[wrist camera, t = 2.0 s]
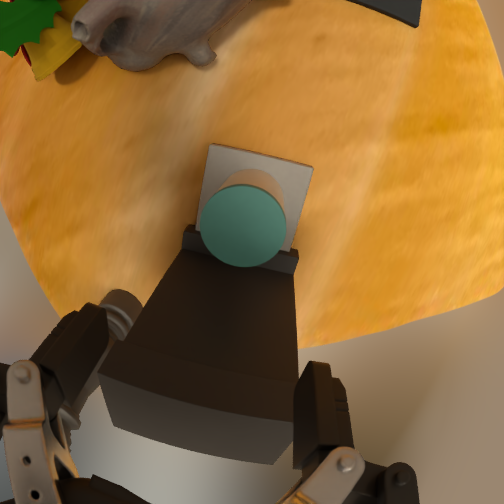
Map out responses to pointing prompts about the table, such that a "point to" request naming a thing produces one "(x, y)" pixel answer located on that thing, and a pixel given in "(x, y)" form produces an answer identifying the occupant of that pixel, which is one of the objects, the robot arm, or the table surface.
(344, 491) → the robot arm
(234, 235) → the container
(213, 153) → the coffee maker
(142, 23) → the piggy bank
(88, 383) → the candle holder
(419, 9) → the mat
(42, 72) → the ornament
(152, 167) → the table surface
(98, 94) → the table surface
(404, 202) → the table surface
